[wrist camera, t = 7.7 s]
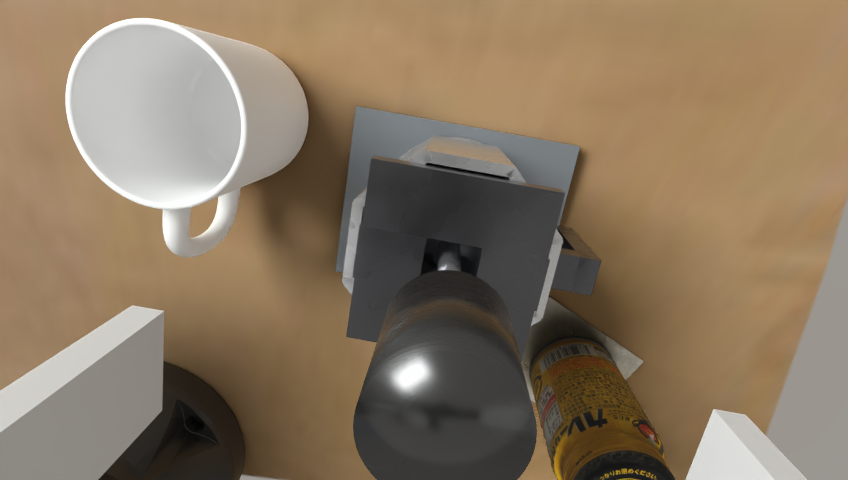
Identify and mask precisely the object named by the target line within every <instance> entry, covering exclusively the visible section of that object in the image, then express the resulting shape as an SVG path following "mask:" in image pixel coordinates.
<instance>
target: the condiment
mask: <svg viewBox="0 0 848 480" xmlns="http://www.w3.org/2000/svg"><path fill="white" fill-rule="evenodd" d="M571 332H572V334H571ZM525 361H526V362H527V365H525V364H524V362H525ZM643 362H644V361H643V360H641V359H640V358H638V357H637V356H635V355H634V354H633V353H631V352H630V351H628V350H627V349H625V348H624V347H623V346H621V345H619V344H618V343H617V342H615V341H614V340H612V339H611V338H610V337H608V336H606V335H605V334H604V333H602V332H601V331H599V330H597V329H596V328H595V327H593V326H591V325H590V324H588V323H587V322H585V321H584V320H583V319H581V318H580V317H578V316H577V315H575V314H574V313H573V312H571V311H570V310H568V309H567V308H565V307H563V306H562V305H560V304H559V303H558V302H556V301H555V300H553V299H552V298H550V297H548V300H547V304H546V307H545V311H544V315H543V319H542V318H541V321H539V322H537V323H535V324H534V325H532V326H531V327H530V331H529V334H528V338H527V342H526V346H525V350H524V354H523V358H522V361H521V364H522V368H523V372H524V376H525V380H526V384H527V388H528V392H529V396H530V400H531V401H533V402H534V403H536V407H537V410H538V414H539V416H540V422H541V428H542V429H543V435H544V438H545V440H546V445H547V450H548V454H549V457H550V460H551V466H552V468H553V472H554V473H555V475H556V477H557V480H675V478H674V476H673V475H672V473H671V472H670V471H669V467H668V465H667V463H666V461H665V457H664V449H663V445H662V443H661V441H660V439H659V436H658V434H657V433H656V431H655V430H654V428H653V426H652V425H651V423H650V421H649V420H648V418H647V416H646V414H645V413H644V411H643V409H642V408H641V406H640V404H639V402H638V401H637V399H636V397H635V396H634V394H633V392H632V391H631V389H630V387H629V386H628V384H627V382H626V379H627V378H629V377H630V376H631V375H632V374H633V373H634V372H635V371H636V370H637V369H638V367H639V366H640V365H641V364H642V363H643ZM526 367H528V370H527V369H526Z"/></svg>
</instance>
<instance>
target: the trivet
mask: <svg viewBox="0 0 848 480" xmlns="http://www.w3.org/2000/svg"><path fill="white" fill-rule="evenodd" d="M434 135H437V136H442V137H463V138H468V139H472V140H476V141H479V142H481V143H484V144H487V145H492V146H497V147H498V148H499V149H500V150H501V151H502V152H503V153H504V154H505V155H506V157H507V158H508V159H509V160H510V161H511V162H512V163H513V164H514V165H515V166H516V168H517V169H518V171H519V172H520V174H521V175H522V177H523V178H524V180H525V181H526V183H531V184H536V185H542V186H547V187H553V188H558V189H561V190H562V191H563V192H564V193H565V196H564V200H563V203H562V207H561V211H560V215H559V219H558V223H557V226H559V225H560V221H561V218H562V214H563V210H564V206H565V202H566V198H567V195H568V191H569V187H570V183H571V179H572V175H573V172H574V168H575V164H576V160H577V156H578V153H579V149H580V146H577V145H572V144H567V143H561V142H555V141H550V140H544V139H539V138H533V137H528V136H522V135H516V134H511V133H505V132H500V131H494V130H489V129H483V128H477V127H472V126H466V125H461V124H455V123H450V122H444V121H439V120H433V119H427V118H422V117H416V116H411V115H405V114H400V113H394V112H388V111H383V110H377V109H372V108H366V107H361V106H356V111H355V119H354V127H353V135H352V143H351V151H350V159H349V167H348V174H347V182H346V190H345V198H344V206H343V214H342V222H341V230H340V238H339V246H338V254H337V262H336V269H335V271H337V272H342V273H343V270H344V262H345V255H346V247H347V239H348V232H349V224H350V217H351V209H352V202H353V200H354V199H355V198H356V197H357V196H358V195H359V194H361V193H362V192H363V191H364V190H365V189H366V188H367V184H368V177H369V170H370V163H371V158H372V157H373V156H375V155H376V156H381V157H387V158H392V159H399V158H400V157H401V156H402V155H403V154H405V153H406V152H407V151H408V150H410V149H412V148H413V147H415V146H416V145H419V144H421V143H423V142H425V141H426V140H427V139H429V138H430V137H432V136H434Z"/></svg>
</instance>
